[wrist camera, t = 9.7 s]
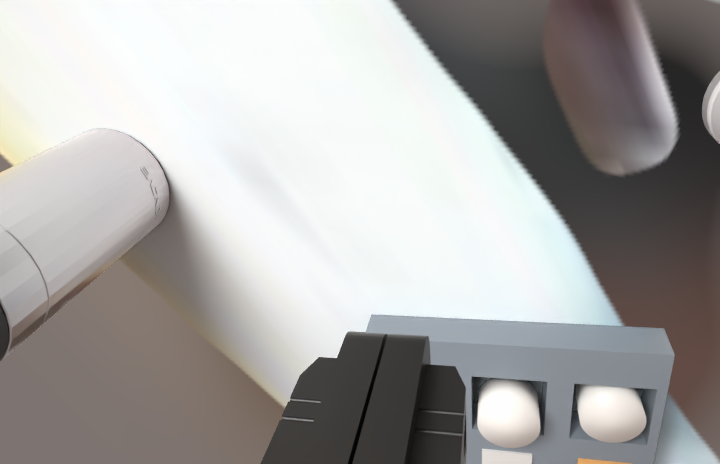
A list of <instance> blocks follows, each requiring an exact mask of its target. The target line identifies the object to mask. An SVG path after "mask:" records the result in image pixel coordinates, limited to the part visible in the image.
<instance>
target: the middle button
mask: <svg viewBox="0 0 720 464" xmlns="http://www.w3.org/2000/svg"><path fill="white" fill-rule="evenodd" d="M477 426H478V429H479V431H480V433H481V435H482V436H483V437H484V438H485V439H486V440H488V441H489V442H491V443H493V444H495V445H498V446H501V447H506V448H518V447H523V446H526V445H528V444H530V443H532V442H533V441H534V440H536V438H537V437H538V435H539V433H540V415H539V403H538V395H537V392H536V390H535V388H534V387H533V386H532V385H531V384H530V383H529V382H527V381H526V380H515V379H501V378H490V379H488V380H487V381H486V382H484V383H483V384H482V386H481V387H480V390H479V395H478V418H477Z"/></svg>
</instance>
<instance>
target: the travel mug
mask: <svg viewBox="0 0 720 464" xmlns="http://www.w3.org/2000/svg"><path fill="white" fill-rule="evenodd" d="M702 117H703V121H704V125H705V127H706V129H707V130H708V132H709V134H710V135H711V136H712V137H713V138H714V139H715V140H716V141H717V142H718V143H719V144H720V71H719V72H718V73H717V74H716V75H715V77H714V78H713V80H712V82H711V83H710V84H709V86H708V88H707V91H706V93H705V95H704V99H703V104H702Z"/></svg>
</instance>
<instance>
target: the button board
mask: <svg viewBox="0 0 720 464" xmlns="http://www.w3.org/2000/svg"><path fill="white" fill-rule="evenodd" d="M366 333H383V334H387V335H389V334H404V335H422V336H428V337H429V342H430V359H431V365H444V366H455V367H456V369H457V371H458V373H459V375H460V377H461V379H462V381H463V383H464V385H465V387H466V432H467V454H466V464H654V459H655V454H656V449H657V444H658V439H659V434H660V428H661V423H662V418H663V413H664V408H665V403H666V398H667V393H668V388H669V382H670V377H671V372H672V367H673V362H674V356H675V354H674V352H673V349H672V347H671V345H670V342H669V340H668V337H667V335H666V332H665V330H664V329H663V328H643V327H642V328H641V327H622V326H601V325H580V324H558V323H537V322H516V321H494V320H473V319H452V318H431V317H409V316H388V315H371V318H370V321H369V324H368V327H367V330H366ZM473 377H486V378H501V379H515V380H529V381H543V391H542V407H541V408H539V415H540V433H539V435H538V437H537V438H536V440H534V441H533V442H532V443H530V444H528V445H526V446H523V447H518V448H506V447H501V446H498V445H495V444H493V443H491V442H489V441H488V440H486V439H485V438H484V437H483V436H482V435H481V433H480V431H479V429H478V426H477V418H478V403H473ZM574 384H586V385H600V386H614V387H629V388H643V393H642V399H641V402H642V405H643V408H644V412H645V415H646V426H645V428H644V430H643V431H642V432H641V433H640V434H639V435H638V436H637V437H635V438H633V439H631V440H628V441H625V442H619V443H608V442H603V441H599V440H596V439H594V438H592V437H591V436H589V435H588V434H587V433H586V432H585V431H584V430H583V429H582V427H581V425H580V420H579V414H578V411H572V404H573V393H574Z"/></svg>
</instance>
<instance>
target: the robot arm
mask: <svg viewBox="0 0 720 464" xmlns="http://www.w3.org/2000/svg"><path fill="white" fill-rule="evenodd" d="M168 206H169V188H168V183H167V180H166V177H165V175H164V172H163V170H162V168H161V167H160V165H159V163H158V162H157V160H156V159H155V158H154V157H153V155H152V154H151V153H150V152H149V151H148V150H147V149H146V148H145V147H144V146H143V145H142V144H140V143H139V142H138V141H136V140H135V139H133V138H131V137H130V136H128V135H126V134H123V133H121V132H118V131H115V130H110V129H92V130H89V131H86V132H83V133H81V134H79V135H77V136H75V137H73V138H71V139H69V140H67V141H65V142H63V143H61V144H59V145H57V146H55V147H53V148H50V149H48V150H46V151H44V152H42V153H40V154H38V155H36V156H34V157H32V158H30V159H27V160H25V161H23V162H21V163H19V164H17V165H15V166H13V167H11V168H9V169H7V170H5V171H3V172H1V173H0V361H1V360H3V359H4V358H5V357H6V356H7V355H8V354H9V353H11V352H12V351H13V350H14V349H15V348H16V347H17V346H19V345H20V344H21V343H22V342H23V341H25V339H27V338H28V337H29V336H30V335H31V334H33V332H35V331H36V330H37V329H38V328H39V327H40V326H42V325H43V324H44V323H45V322H46V321H47V320H49V319H50V318H51V317H52V316H53V315H54V314H55V313H57V312H58V311H59V310H60V309H61V308H62V307H64V306H65V305H66V304H67V303H68V302H69V301H70V300H72V299H73V298H74V297H75V296H76V295H77V294H79V293H80V292H81V291H82V290H83V289H84V288H85V287H87V286H88V285H89V284H90V283H91V282H93V281H94V280H95V279H96V278H97V277H98V276H100V275H101V274H102V273H103V272H104V271H105V270H106V269H108V268H109V267H110V266H111V265H112V264H113V263H114V262H116V261H117V260H118V259H119V258H120V257H122V256H123V255H124V254H125V253H126V252H127V251H129V250H130V249H131V248H132V247H133V246H134V245H136V244H137V243H138V242H139V241H140V240H141V239H142V238H144V237H145V236H146V235H147V234H148V233H149V232H150V231H152V230H153V229H154V228H155V227H156V226H157V225H158V224H159V223H161V222H162V220H163V218H164V217H165V215H166V213H167V210H168ZM466 454H467V432H466V387H465V385H464V383H463V381H462V379H461V377H460V375H459V373H458V371H457V369H456V367H455V366H444V365H431V359H430V342H429V337H428V336H422V335H404V334H389V335H387V334H383V333H365V332H348V333H347V334H346V336H345V338H344V341H343V344H342V346H341V349H340V352H339V354H338V357H337V358H324V357H319V358H318V359H317V360H316V361H315V362H314V363H313V364H311V365H310V366H309V367H308V368H307V369H306V370H305V371H304V372H303V373H302V374H301V375H300V377H299V379H298V381H297V384H296V386H295V388H294V390H293V393H292V395H291V397H290V402H288V404H287V406H286V408H285V410H284V413H283V415H282V420H281V421H280V422H279V424H278V426H277V428H276V431H275V433H274V435H273V437H272V440H271V442H270V444H269V446H268V449H267V451H266V453H265V455H264V457H263V460H262V462H261V464H466Z"/></svg>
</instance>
